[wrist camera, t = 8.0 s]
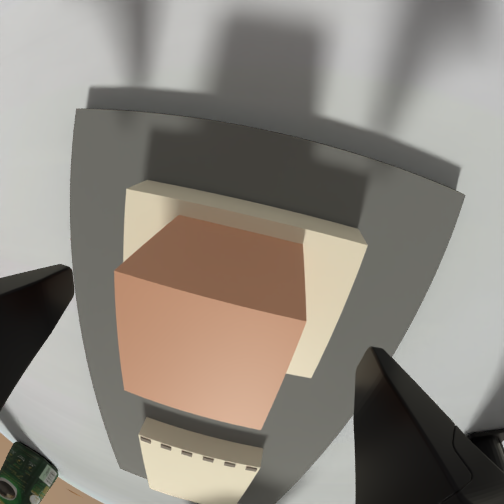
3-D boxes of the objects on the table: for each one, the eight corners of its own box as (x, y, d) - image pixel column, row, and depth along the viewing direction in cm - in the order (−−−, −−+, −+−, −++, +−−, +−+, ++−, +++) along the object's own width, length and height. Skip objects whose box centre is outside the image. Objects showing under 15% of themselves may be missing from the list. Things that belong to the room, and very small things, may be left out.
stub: (358, 228, 10) (406, 319, 5) (310, 352, 13) (311, 461, 8) (147, 180, 11) (45, 228, 6) (140, 309, 13) (78, 394, 8)
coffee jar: (28, 454, 36) (-8, 515, 19) (11, 434, 32) (-31, 500, 15) (65, 477, 35) (30, 545, 18) (50, 459, 32) (9, 534, 15)
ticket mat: (456, 190, 10) (488, 206, 8) (270, 502, 23) (267, 521, 21) (87, 108, 11) (49, 109, 8) (122, 462, 24) (114, 480, 22)
